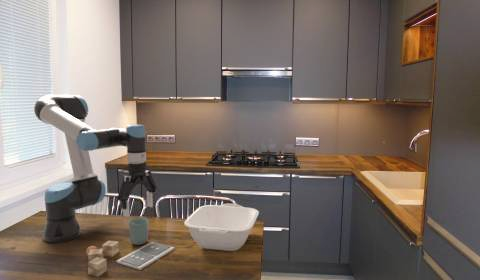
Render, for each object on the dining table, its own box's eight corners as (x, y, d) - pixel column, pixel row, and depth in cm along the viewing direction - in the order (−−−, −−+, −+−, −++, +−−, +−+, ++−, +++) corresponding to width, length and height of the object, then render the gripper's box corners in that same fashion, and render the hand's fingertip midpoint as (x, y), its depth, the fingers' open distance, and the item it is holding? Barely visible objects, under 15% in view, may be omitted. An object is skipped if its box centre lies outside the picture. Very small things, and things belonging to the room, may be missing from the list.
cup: (143, 247, 150) (142, 225, 149) (126, 246, 152) (125, 223, 150) (151, 240, 158) (151, 218, 156) (135, 238, 159) (134, 217, 158)
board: (116, 262, 137) (116, 259, 137) (152, 243, 154) (152, 240, 154) (140, 270, 131) (139, 266, 131) (174, 249, 149) (174, 246, 149)
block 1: (88, 266, 135) (88, 254, 134) (91, 260, 139) (90, 249, 138) (101, 264, 135) (100, 253, 135) (103, 259, 140) (102, 248, 139)
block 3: (102, 255, 143) (102, 245, 142) (109, 250, 147) (108, 240, 147) (112, 256, 142) (112, 246, 141) (118, 252, 146) (118, 241, 146)
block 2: (96, 257, 132) (97, 268, 133) (87, 262, 128) (88, 274, 128) (106, 259, 130) (107, 270, 131) (97, 264, 126) (98, 276, 127)
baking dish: (203, 226, 174) (203, 201, 172) (261, 231, 168) (261, 205, 166) (177, 258, 141) (176, 227, 139) (248, 265, 135) (248, 233, 133)
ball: (84, 256, 142) (83, 247, 141) (92, 252, 145) (92, 243, 145) (91, 258, 140) (90, 249, 139) (99, 254, 143) (99, 245, 143)
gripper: (120, 168, 136) (122, 222, 139) (164, 158, 157) (164, 204, 160) (106, 166, 139) (108, 218, 142) (151, 156, 161) (152, 201, 164)
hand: (138, 211), depth 151 cm, fingers open, 13 cm apart
